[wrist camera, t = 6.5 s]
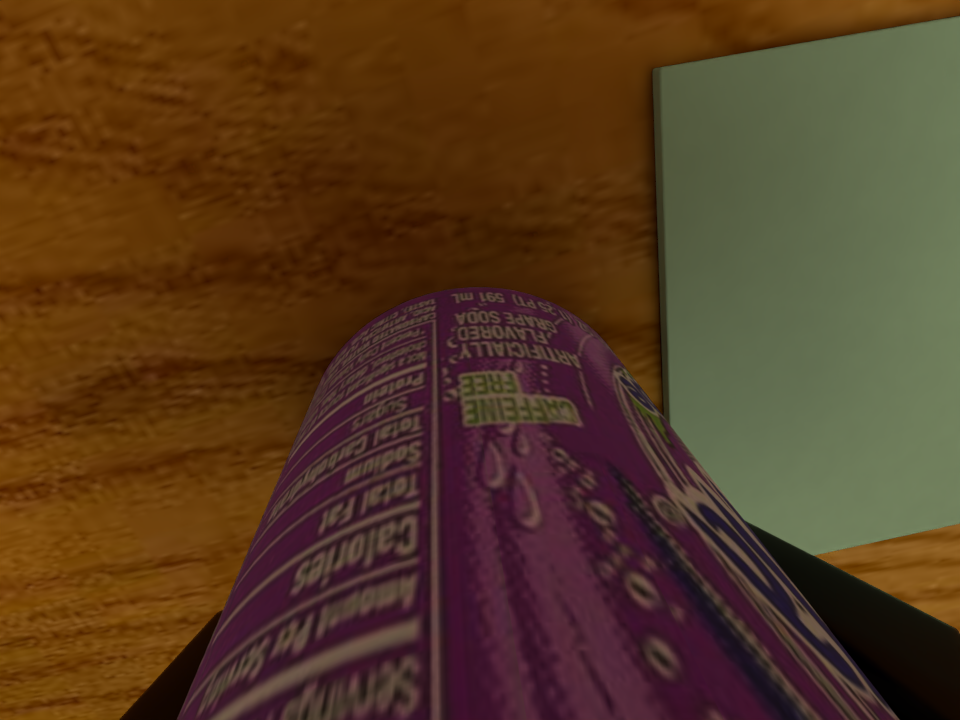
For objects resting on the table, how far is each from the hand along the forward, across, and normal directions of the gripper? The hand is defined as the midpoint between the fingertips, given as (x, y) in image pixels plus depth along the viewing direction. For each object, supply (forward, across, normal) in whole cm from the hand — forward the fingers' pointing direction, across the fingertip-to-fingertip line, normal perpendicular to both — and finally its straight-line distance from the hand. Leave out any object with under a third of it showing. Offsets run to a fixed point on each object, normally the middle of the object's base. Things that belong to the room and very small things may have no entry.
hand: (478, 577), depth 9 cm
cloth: (+5, -11, 0) cm, 12 cm away
